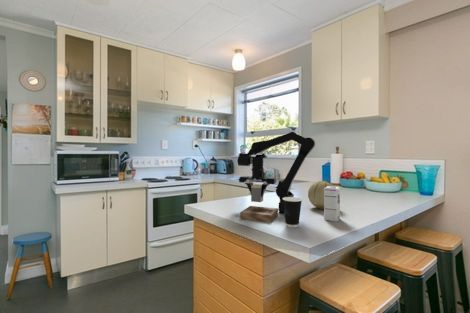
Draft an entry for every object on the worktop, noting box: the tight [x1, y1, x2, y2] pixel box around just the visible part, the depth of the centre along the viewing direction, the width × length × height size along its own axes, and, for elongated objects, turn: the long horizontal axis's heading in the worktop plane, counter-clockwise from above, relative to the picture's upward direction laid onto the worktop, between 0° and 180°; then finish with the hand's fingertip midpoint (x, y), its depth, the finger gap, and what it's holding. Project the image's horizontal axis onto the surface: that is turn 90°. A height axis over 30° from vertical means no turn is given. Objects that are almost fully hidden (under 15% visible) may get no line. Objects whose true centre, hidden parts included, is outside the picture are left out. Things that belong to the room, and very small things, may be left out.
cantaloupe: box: [307, 179, 334, 210], centre depth 134 cm, size 15×15×15 cm
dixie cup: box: [283, 196, 303, 228], centre depth 103 cm, size 8×8×11 cm
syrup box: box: [323, 185, 341, 222], centre depth 113 cm, size 6×6×14 cm
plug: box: [250, 184, 264, 203], centre depth 130 cm, size 5×5×8 cm
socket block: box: [239, 205, 279, 223], centre depth 116 cm, size 14×14×3 cm
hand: (257, 196), depth 130 cm, fingers closed on plug, 5 cm apart
